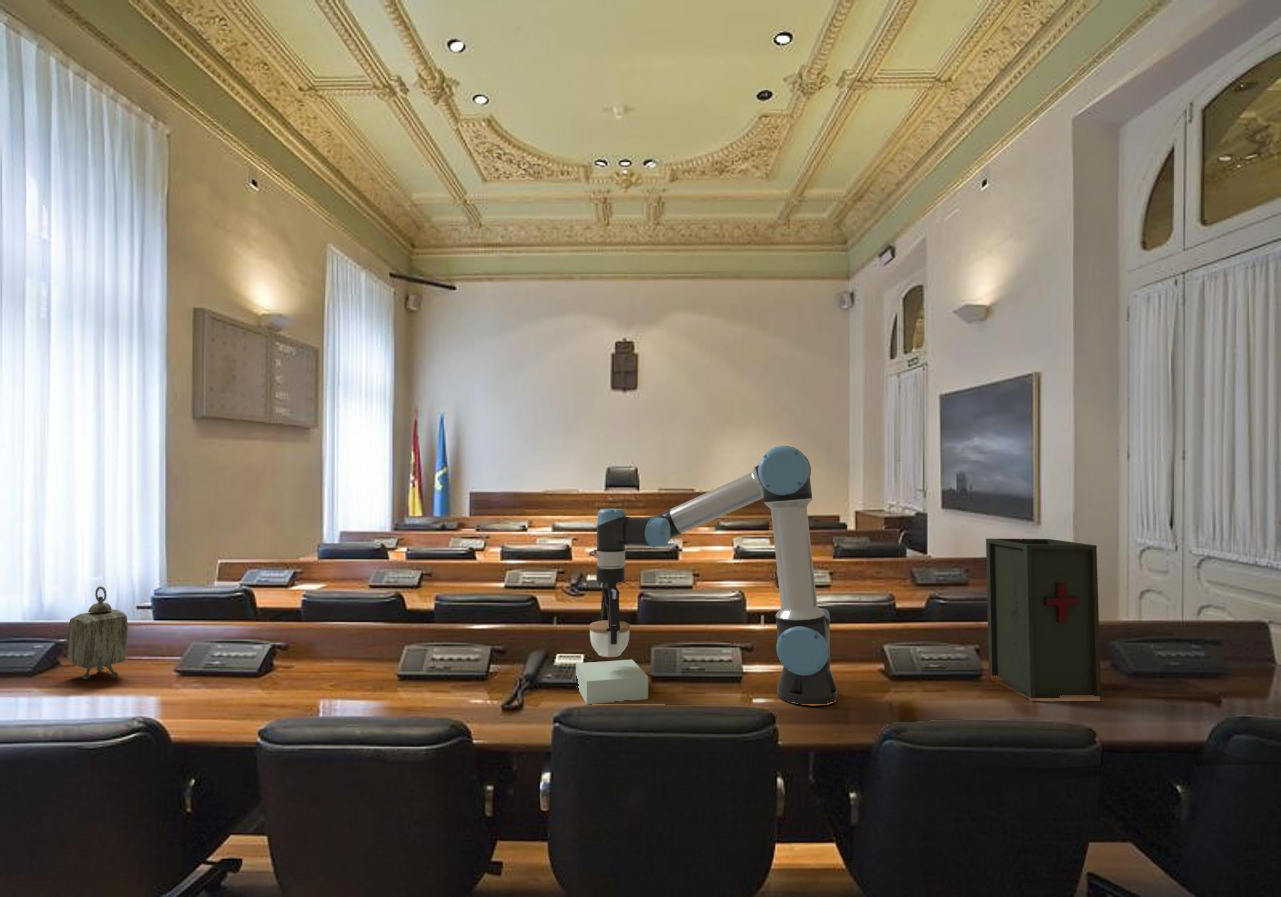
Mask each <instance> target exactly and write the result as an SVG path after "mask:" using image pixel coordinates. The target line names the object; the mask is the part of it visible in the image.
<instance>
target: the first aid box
mask: <svg viewBox="0 0 1281 897" xmlns="http://www.w3.org/2000/svg"><path fill="white" fill-rule="evenodd" d="M985 550H986V552H985V554H986V555H985V556H986V557H985V558H986V590H987V591H986V598H987V601H986V602H987V605H986V606H987V640H988V641H987V643H988V646H987V648H988V652H987V653H988V674H989V673H990V674H991V675H992V676H994V675H995V676H996V675H997V676H999V677H1000V678H1002V679H1003V680H1005V681H1001V682H1003V683H1004V684H1006V685H1007V686H1009V687H1010V688H1012V689H1014V690H1016V691H1017V692H1020V693H1021V694H1024V695H1025V696H1027V697H1029V698H1060V697H1059V696H1060V695H1061V696H1062V695H1094V696H1101V697H1102V683H1101V682H1102V681H1101V680H1102V679H1101V678H1102V676H1101V652H1100V649H1101V646H1100V643H1101V642H1100V617H1099V616H1100V615H1099V614H1100V613H1099V587H1098V586H1099V585H1098V584H1099V583H1098V582H1099V581H1098V579H1099V578H1098V551H1097V550H1098V549H1097V545H1095V544H1090V543H1082V542H1081V543H1080V542H1074V541H1069V540H1060V539H1059V540H1058V539H1051V538H985Z"/></svg>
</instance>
